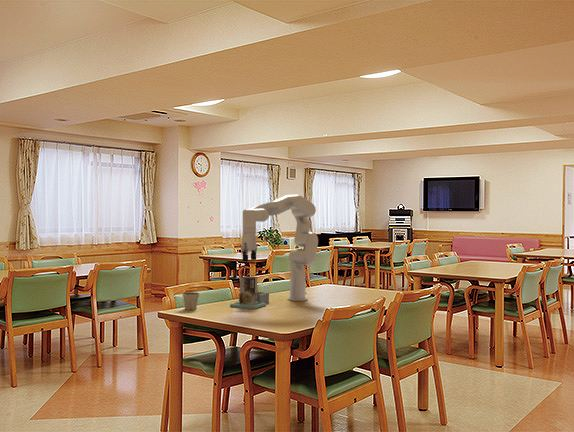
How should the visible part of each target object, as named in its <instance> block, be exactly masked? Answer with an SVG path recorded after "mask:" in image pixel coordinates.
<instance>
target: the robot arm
mask: <svg viewBox="0 0 574 432" xmlns="http://www.w3.org/2000/svg"><path fill="white" fill-rule="evenodd" d="M289 210H291V214H292V215H293V216H294V219H295V221H296V227H295V233H294V241H293V242H294V245H295V246H296V247H300V248H293V249H292V250H291V251H289V254H288V263H289V270H290V271H289V273H290V274H289V278H290V279H289V296H288V297H286V298H287V299H286V300H288V301H292V302H293V301H294V302H295V301H296V302H303V301H308V299H309V298H308V297H307V296H306V295H307V292H306V268H305V266H311V265H313V264H314V262H315V260H316V258H317V257H316V256H317V252H318V248H319V246H318V245H319V237H318V235H317V234H316V233H315V232H312V231H310V229H311V221H310V219H309V218H311V217H314V215H315V214H316V205H315V204H314V203H313V202H311V201H310V200H308V199H307V198H305V197H304V196H302V195H300V194H287V195H284V196H282V197H280V198H277V199H275V200H273V201H268V202H266V203H262V204H259V205H256V206H253V207H252V208H249V209H248V208H247V209H246V208H245V209H243V210H242V235H241V247H240V250H241V254H242V262H246V263H247V262H249V254H248V253H249V252H251V253H250V260H251V261H257V250H258V244H257V235H256V233H257V222H260V223H261V222H266V221H267V220H268V219H269V218H270V216H277V215H281V214H283V213H284V212H287V211H289Z"/></svg>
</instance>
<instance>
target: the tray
mask: <svg viewBox="0 0 574 432" xmlns="http://www.w3.org/2000/svg"><path fill="white" fill-rule="evenodd" d="M229 306H230V308H238V309H239V308H240V309H247V310H248V309H250V310H257V309H261V308H264V307H266V306H267V303H261V302H257V305H255V306H253V305H242V304H240V301H239V300H238V301H235V302H232V303H230V304H229Z"/></svg>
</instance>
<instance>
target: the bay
mask: <svg viewBox="0 0 574 432" xmlns="http://www.w3.org/2000/svg"><path fill="white" fill-rule="evenodd" d="M239 301H240V292H239V293H238V302H239ZM257 302H261V303H266V304H269V302H270V293H269V292H267V291H265V292H264V291H257Z"/></svg>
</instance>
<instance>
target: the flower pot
mask: <svg viewBox="0 0 574 432" xmlns="http://www.w3.org/2000/svg"><path fill="white" fill-rule="evenodd" d="M199 296H200V292H196V291H195V292H193V291H190V292H182V297H183V304H184V310H187V311H190V310H192V311H195V310H197V308H198V300H199ZM194 309H195V310H194Z"/></svg>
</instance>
